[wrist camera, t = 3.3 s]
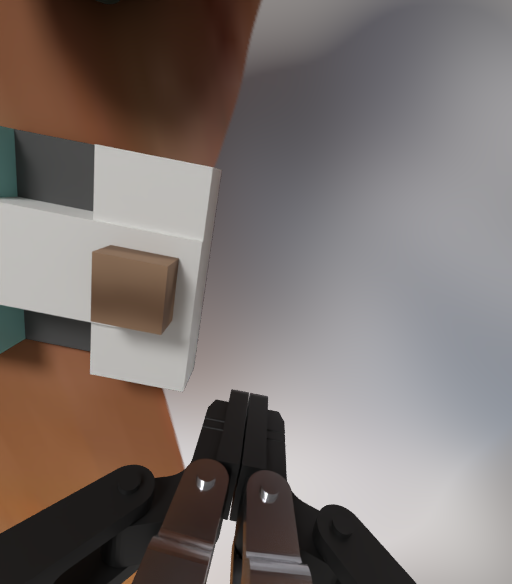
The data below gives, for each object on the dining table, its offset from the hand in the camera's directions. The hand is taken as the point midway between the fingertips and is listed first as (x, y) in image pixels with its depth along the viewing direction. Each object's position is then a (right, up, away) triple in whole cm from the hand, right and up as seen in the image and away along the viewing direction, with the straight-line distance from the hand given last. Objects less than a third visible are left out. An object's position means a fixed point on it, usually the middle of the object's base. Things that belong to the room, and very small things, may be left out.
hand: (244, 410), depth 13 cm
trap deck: (-16, +8, +15) cm, 23 cm away
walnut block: (-8, +5, +11) cm, 14 cm away
